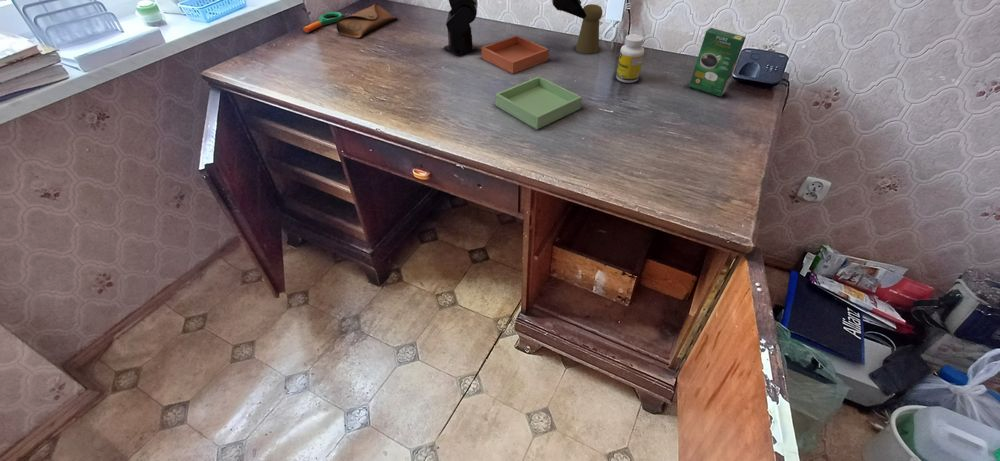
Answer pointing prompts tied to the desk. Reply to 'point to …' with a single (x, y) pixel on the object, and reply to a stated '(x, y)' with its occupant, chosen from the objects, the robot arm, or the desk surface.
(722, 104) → the desk surface
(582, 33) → the olive pepper mill
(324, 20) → the magnifying glass
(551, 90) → the sage tray
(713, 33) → the coffee box
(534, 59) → the terracotta tray
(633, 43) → the supplement bottle
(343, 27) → the sunglasses case
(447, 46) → the robot arm
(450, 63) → the desk surface
